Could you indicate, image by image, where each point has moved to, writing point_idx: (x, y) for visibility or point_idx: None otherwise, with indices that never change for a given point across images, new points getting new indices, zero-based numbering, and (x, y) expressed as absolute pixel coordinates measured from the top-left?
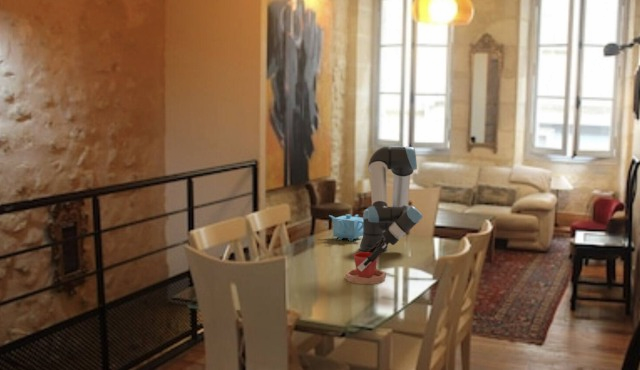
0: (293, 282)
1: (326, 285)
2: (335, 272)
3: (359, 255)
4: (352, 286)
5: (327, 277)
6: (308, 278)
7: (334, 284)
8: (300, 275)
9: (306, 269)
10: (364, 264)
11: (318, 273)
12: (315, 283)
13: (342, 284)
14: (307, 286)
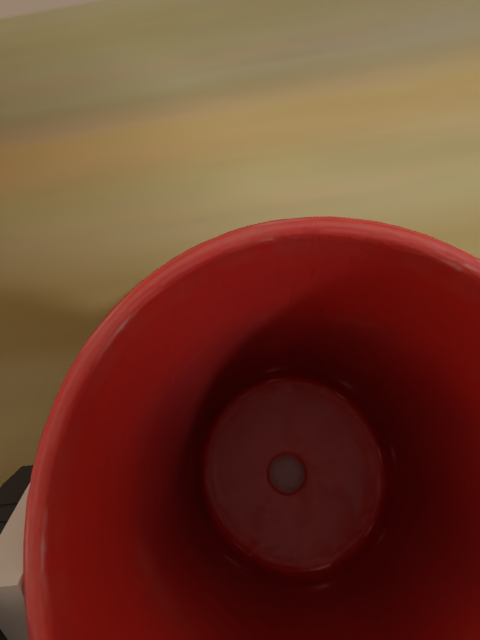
0: (115, 3)
1: (50, 178)
2: (436, 177)
3: (466, 324)
4: (19, 368)
5: (270, 149)
6: (220, 52)
7: (78, 224)
8: (284, 3)
9: (447, 4)
10: (20, 488)
11: (366, 81)
12: (99, 108)
13: (80, 280)
14: (26, 81)
